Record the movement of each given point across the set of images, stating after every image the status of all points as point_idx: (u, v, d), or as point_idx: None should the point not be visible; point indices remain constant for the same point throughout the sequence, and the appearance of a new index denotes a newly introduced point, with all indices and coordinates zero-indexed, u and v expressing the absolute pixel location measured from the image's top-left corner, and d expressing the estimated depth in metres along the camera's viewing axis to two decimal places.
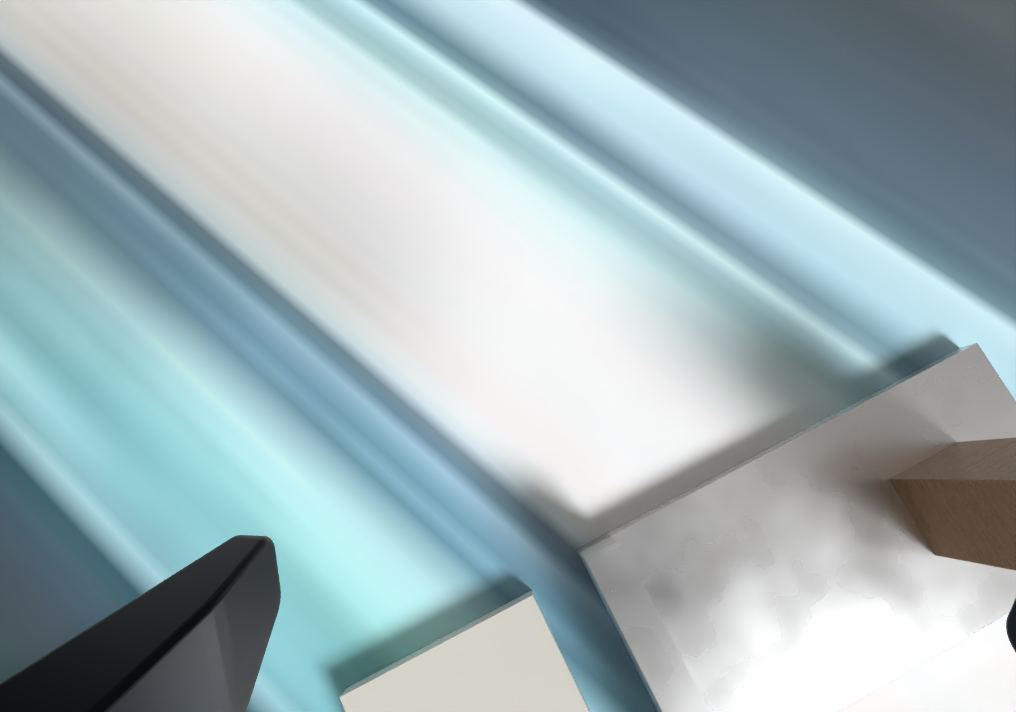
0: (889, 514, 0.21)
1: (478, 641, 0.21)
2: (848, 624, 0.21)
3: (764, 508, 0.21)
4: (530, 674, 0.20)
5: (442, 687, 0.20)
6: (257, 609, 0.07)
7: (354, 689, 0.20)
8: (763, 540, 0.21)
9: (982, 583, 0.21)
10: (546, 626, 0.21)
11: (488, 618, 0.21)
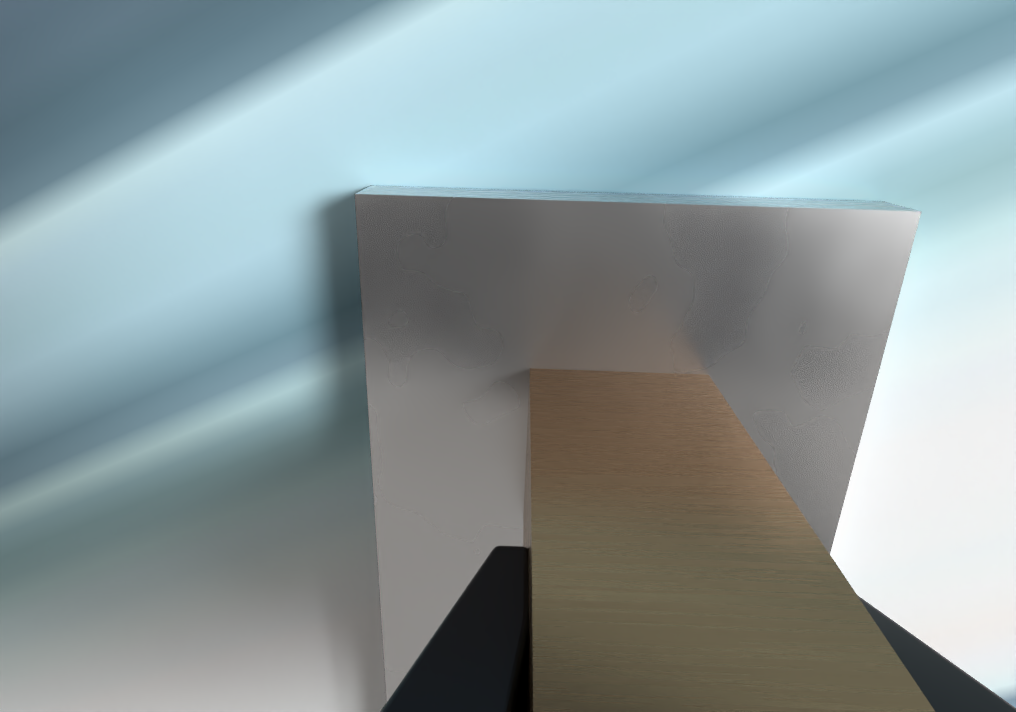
0: None
1: None
2: None
3: None
4: None
5: None
6: None
7: None
8: None
9: None
10: None
11: None
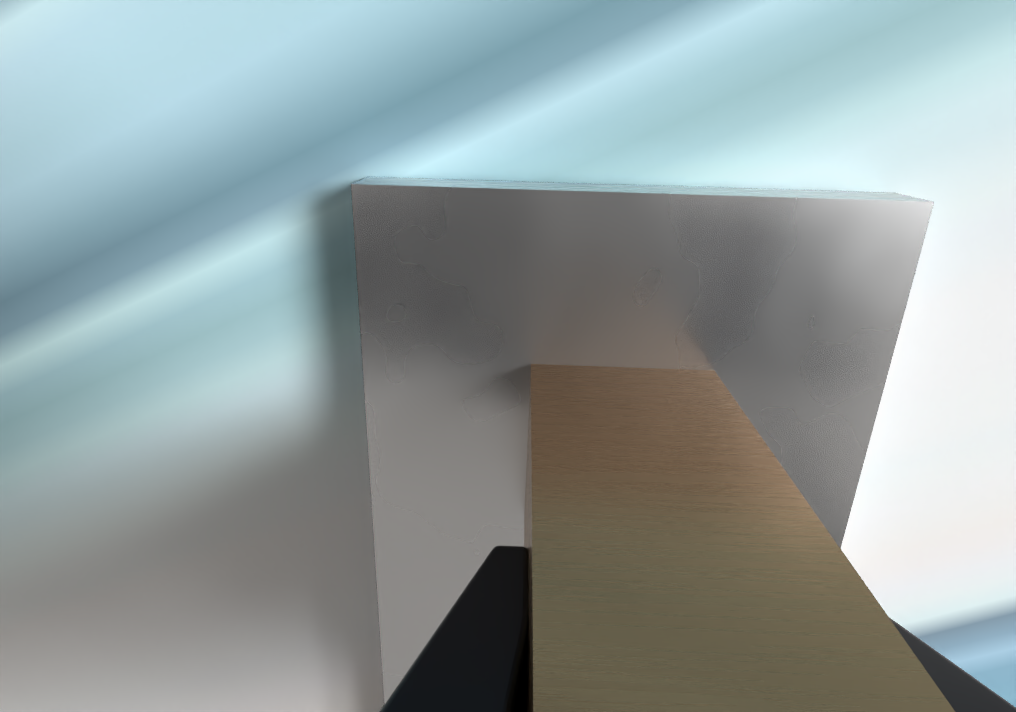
0: None
1: None
2: None
3: None
4: None
5: None
6: None
7: None
8: None
9: None
10: None
11: None
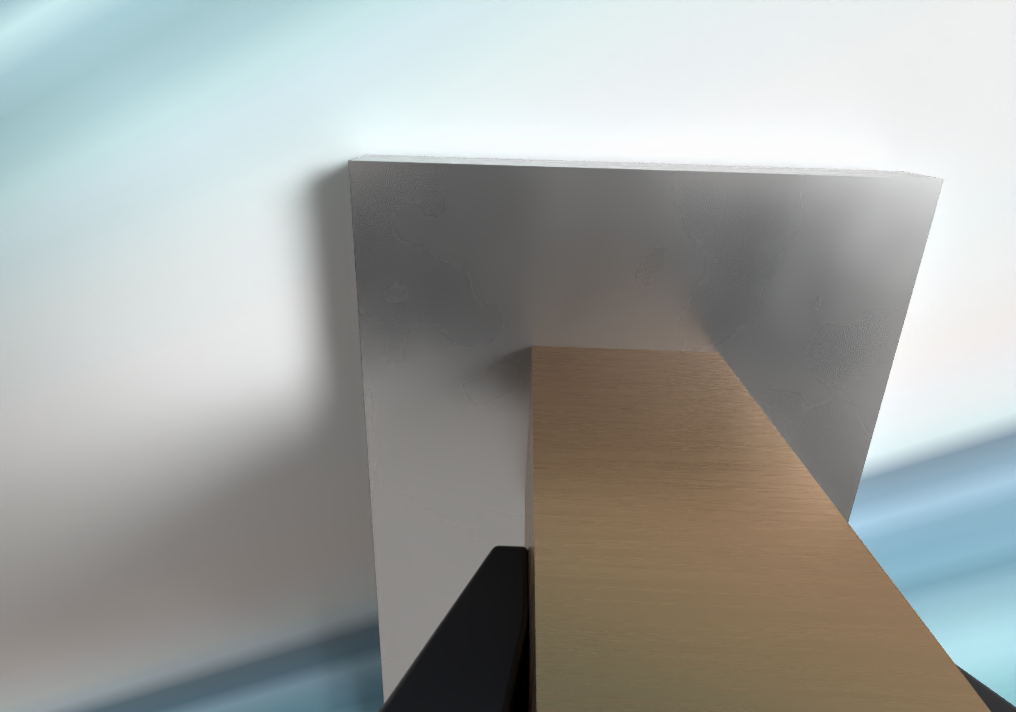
0: None
1: None
2: None
3: None
4: None
5: None
6: None
7: None
8: None
9: None
10: None
11: None
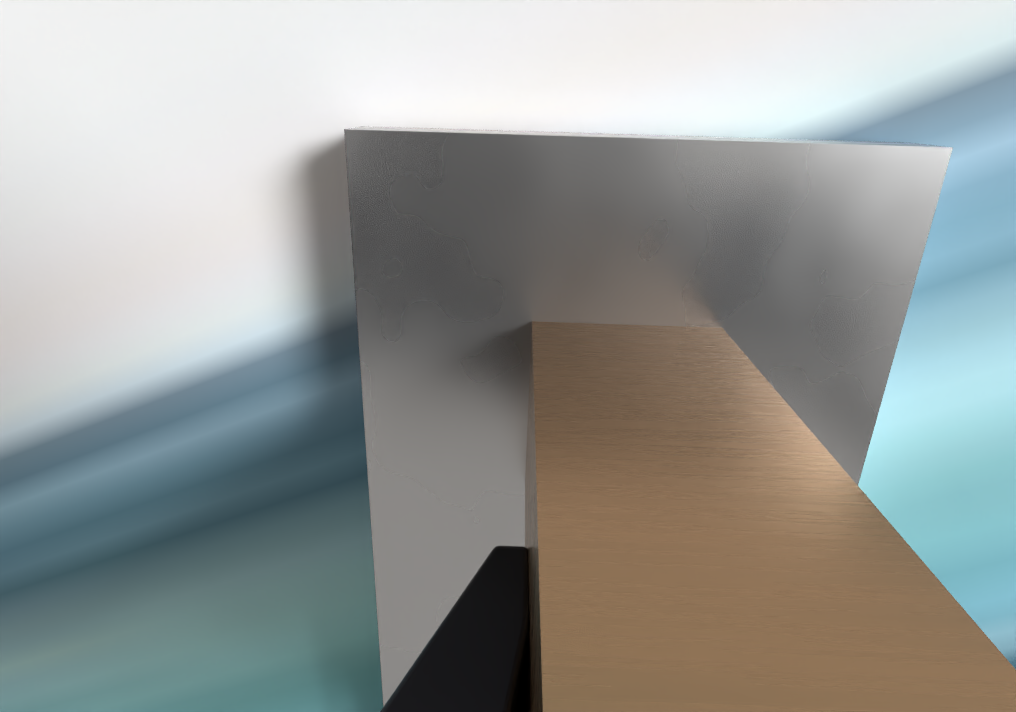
0: None
1: None
2: None
3: None
4: None
5: None
6: None
7: None
8: None
9: None
10: None
11: None
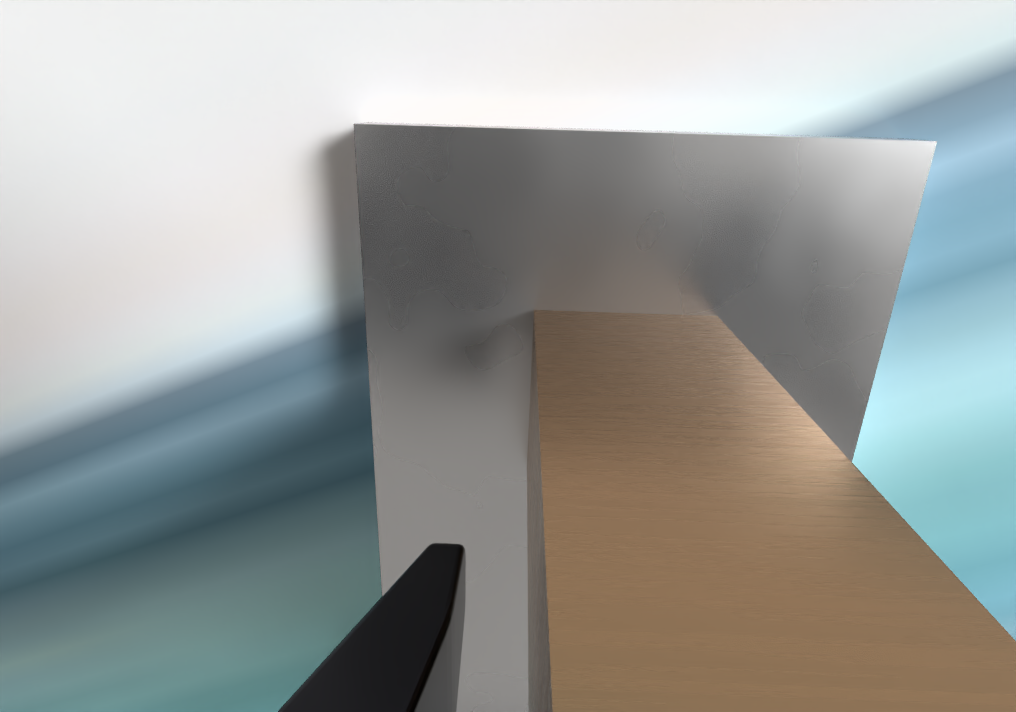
0: None
1: None
2: None
3: (463, 655, 0.12)
4: None
5: None
6: (460, 617, 0.07)
7: None
8: (509, 679, 0.12)
9: None
10: None
11: None
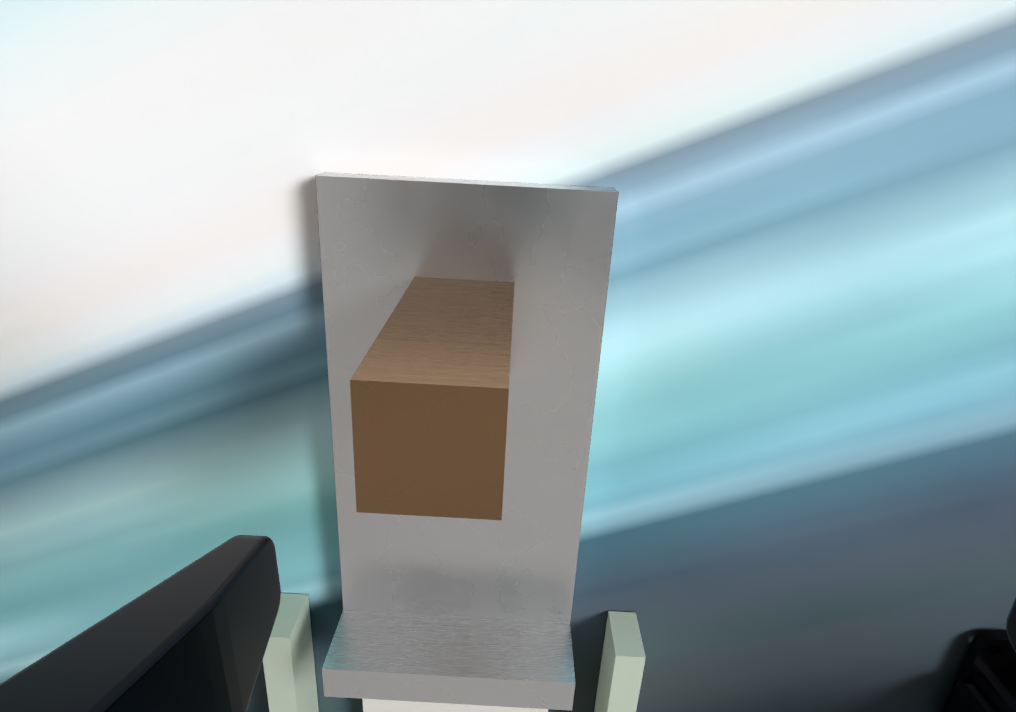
0: None
1: None
2: (521, 482, 0.20)
3: None
4: None
5: None
6: (257, 609, 0.07)
7: None
8: None
9: (561, 349, 0.18)
10: None
11: None
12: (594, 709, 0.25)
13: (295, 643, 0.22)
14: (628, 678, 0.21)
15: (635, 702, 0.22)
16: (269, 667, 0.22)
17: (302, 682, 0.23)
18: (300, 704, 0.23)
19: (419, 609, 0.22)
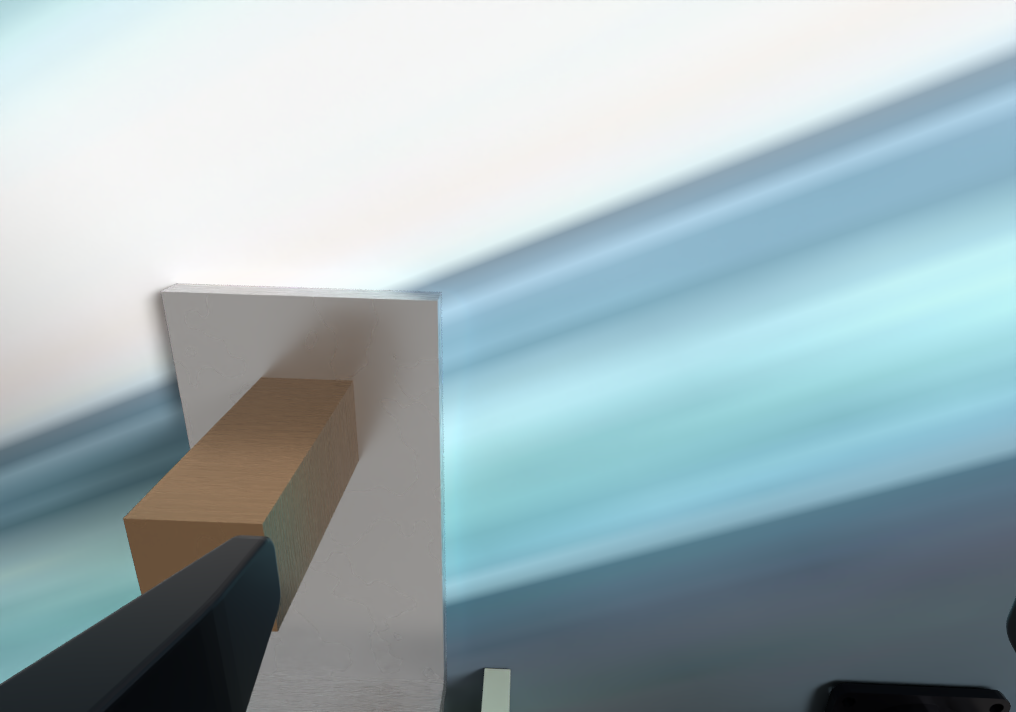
0: None
1: None
2: (382, 556, 0.21)
3: None
4: None
5: None
6: (257, 609, 0.07)
7: None
8: None
9: (403, 438, 0.20)
10: None
11: None
12: None
13: None
14: None
15: None
16: None
17: None
18: None
19: (302, 671, 0.23)
